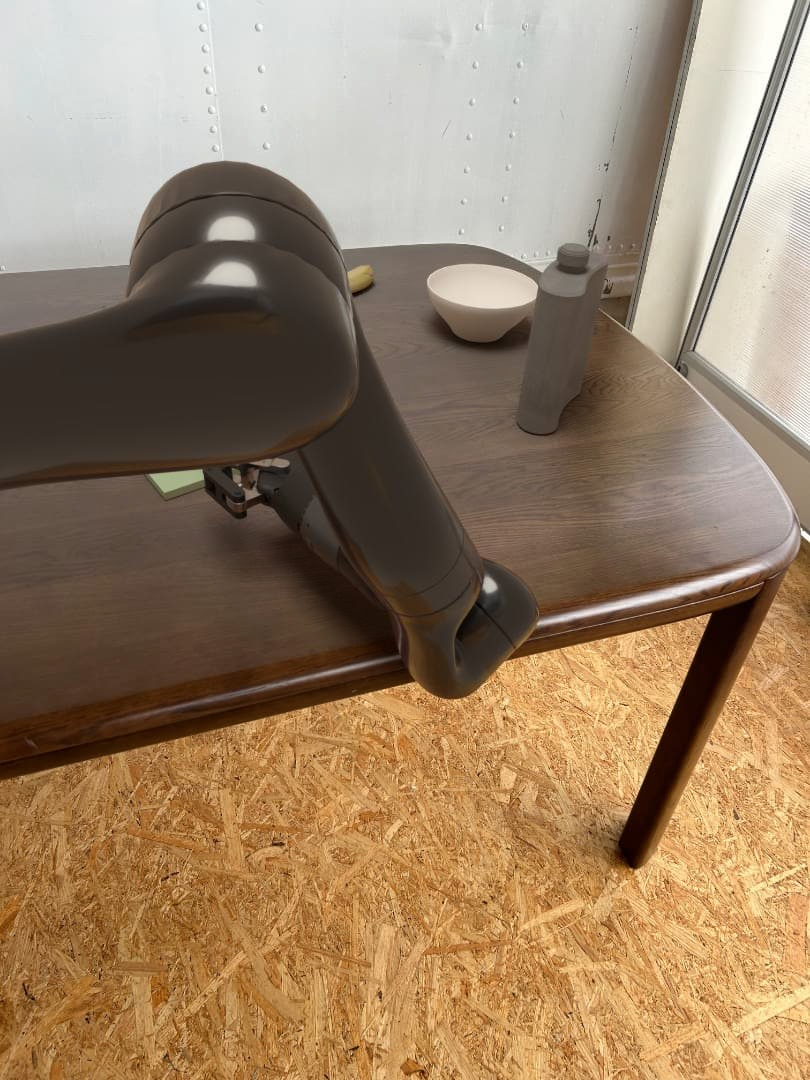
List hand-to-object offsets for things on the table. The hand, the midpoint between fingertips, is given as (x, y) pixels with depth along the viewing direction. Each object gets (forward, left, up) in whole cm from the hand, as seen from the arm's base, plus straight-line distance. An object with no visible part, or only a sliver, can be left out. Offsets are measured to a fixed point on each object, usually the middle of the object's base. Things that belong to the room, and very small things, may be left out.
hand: (247, 433), depth 77 cm
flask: (+40, +8, -8) cm, 41 cm away
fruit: (+25, +50, -8) cm, 56 cm away
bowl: (+41, +30, -8) cm, 51 cm away
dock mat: (-3, +14, -8) cm, 16 cm away
